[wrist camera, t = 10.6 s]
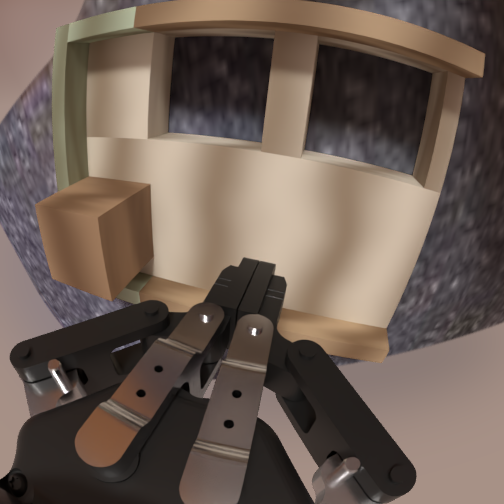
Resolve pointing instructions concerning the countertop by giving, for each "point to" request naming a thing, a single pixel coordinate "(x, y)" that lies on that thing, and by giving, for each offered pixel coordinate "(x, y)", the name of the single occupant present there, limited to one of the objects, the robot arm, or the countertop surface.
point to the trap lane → (260, 161)
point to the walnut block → (97, 234)
